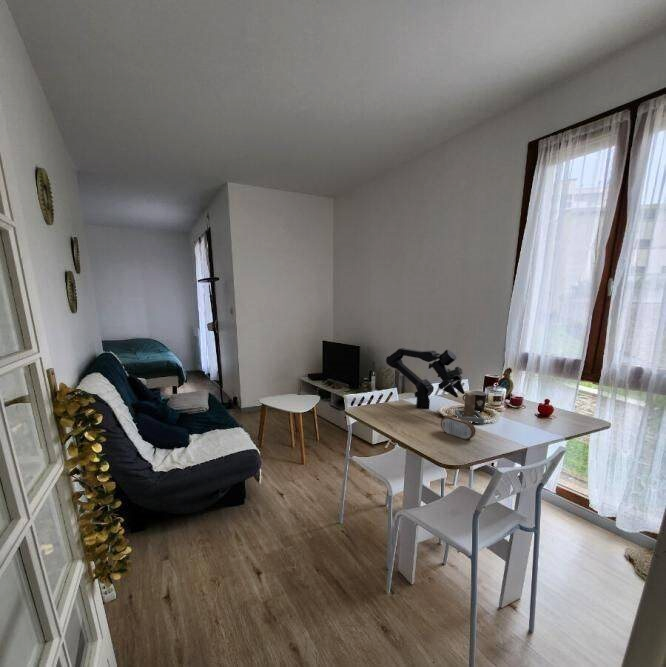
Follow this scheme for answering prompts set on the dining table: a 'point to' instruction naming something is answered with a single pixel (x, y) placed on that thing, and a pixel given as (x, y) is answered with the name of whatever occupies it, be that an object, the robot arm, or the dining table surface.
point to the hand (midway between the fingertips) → (460, 395)
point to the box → (475, 419)
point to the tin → (458, 427)
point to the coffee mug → (479, 400)
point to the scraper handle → (469, 405)
